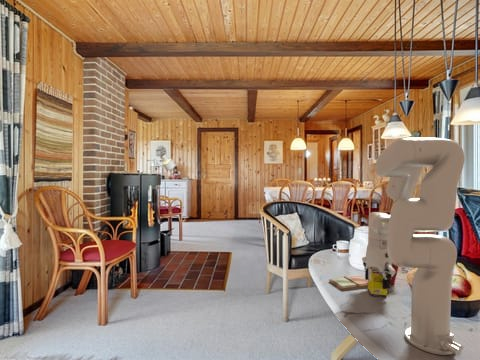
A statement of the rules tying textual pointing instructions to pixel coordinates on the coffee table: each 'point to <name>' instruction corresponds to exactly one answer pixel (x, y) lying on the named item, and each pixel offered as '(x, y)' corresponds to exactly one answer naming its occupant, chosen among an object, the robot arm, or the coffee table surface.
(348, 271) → the coffee table surface
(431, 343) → the robot arm
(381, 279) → the supplement box
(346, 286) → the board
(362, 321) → the coffee table surface
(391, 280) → the plastic cup
